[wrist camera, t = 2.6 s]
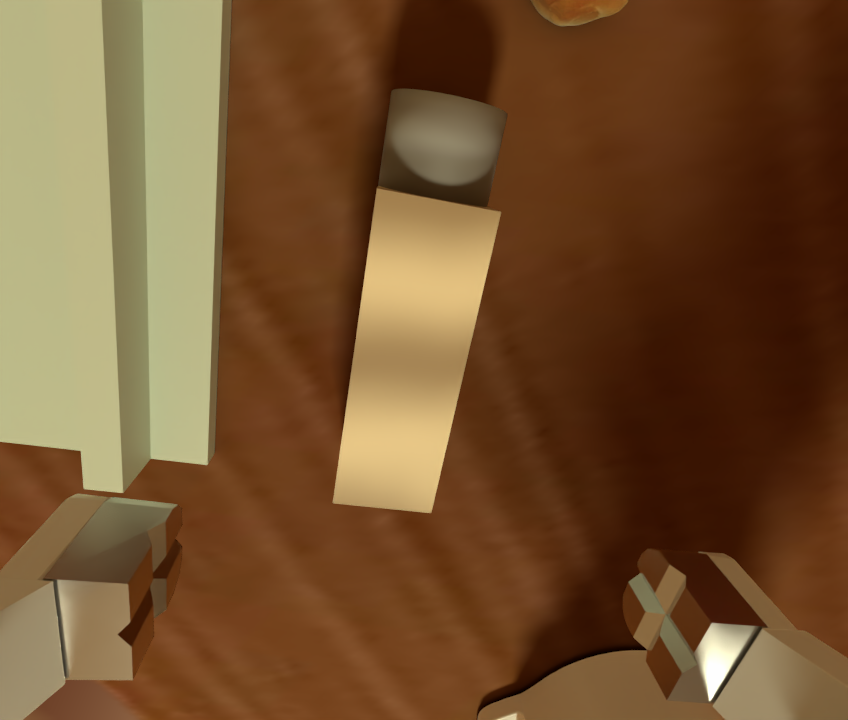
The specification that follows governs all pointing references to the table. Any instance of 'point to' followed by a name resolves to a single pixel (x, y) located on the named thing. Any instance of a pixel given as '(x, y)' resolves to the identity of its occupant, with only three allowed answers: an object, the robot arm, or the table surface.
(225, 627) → the table surface
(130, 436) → the grooved moulding strip
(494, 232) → the grey-capped wooden block
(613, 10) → the pastry
